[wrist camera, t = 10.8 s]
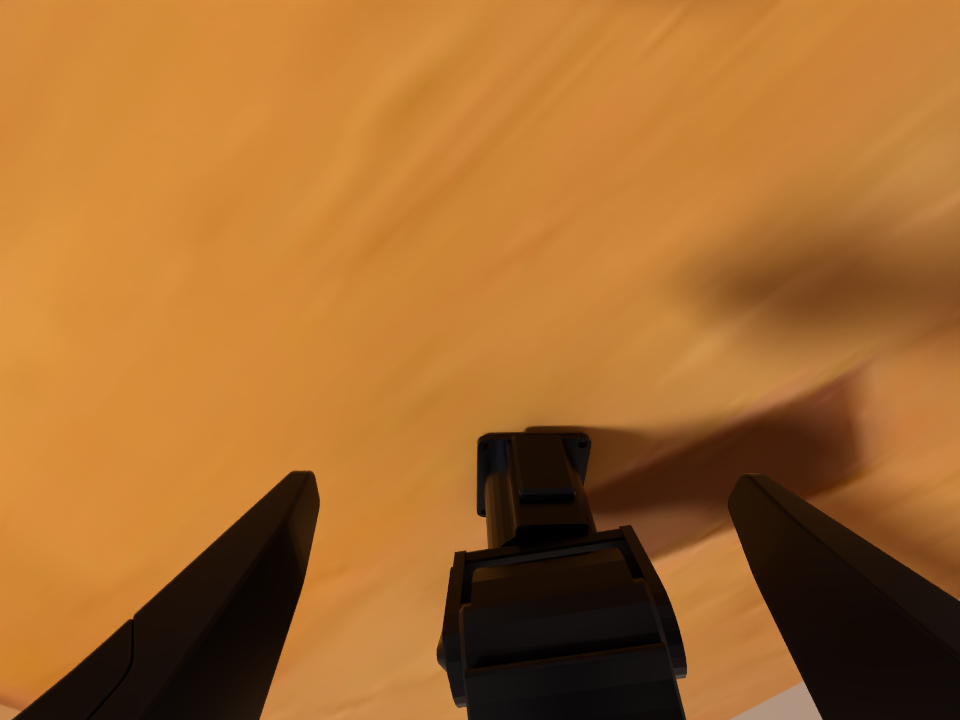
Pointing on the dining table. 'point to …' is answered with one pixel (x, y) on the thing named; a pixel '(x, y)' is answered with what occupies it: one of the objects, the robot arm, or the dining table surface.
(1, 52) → the dining table surface
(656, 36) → the dining table surface
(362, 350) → the dining table surface
